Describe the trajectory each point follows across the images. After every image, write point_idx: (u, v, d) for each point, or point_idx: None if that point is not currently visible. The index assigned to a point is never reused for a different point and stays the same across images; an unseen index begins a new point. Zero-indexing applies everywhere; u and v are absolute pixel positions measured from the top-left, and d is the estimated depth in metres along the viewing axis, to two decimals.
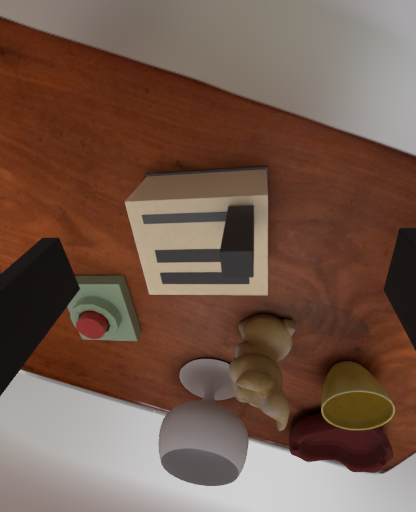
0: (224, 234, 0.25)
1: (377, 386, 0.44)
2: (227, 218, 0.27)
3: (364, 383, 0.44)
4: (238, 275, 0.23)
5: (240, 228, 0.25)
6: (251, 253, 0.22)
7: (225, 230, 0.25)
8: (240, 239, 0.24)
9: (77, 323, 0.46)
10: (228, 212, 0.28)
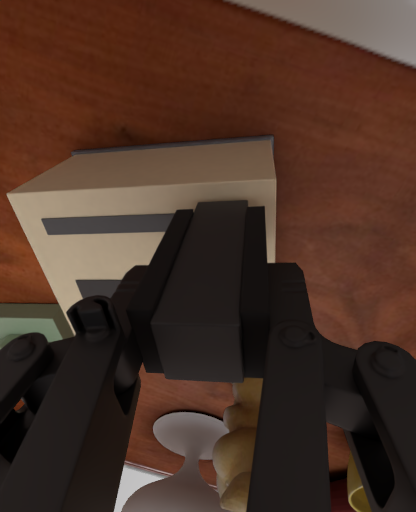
0: (175, 267, 0.10)
1: None
2: (190, 227, 0.13)
3: None
4: (204, 376, 0.09)
5: (214, 251, 0.11)
6: (236, 331, 0.08)
7: (179, 257, 0.11)
8: (209, 283, 0.09)
9: None
10: (195, 214, 0.14)
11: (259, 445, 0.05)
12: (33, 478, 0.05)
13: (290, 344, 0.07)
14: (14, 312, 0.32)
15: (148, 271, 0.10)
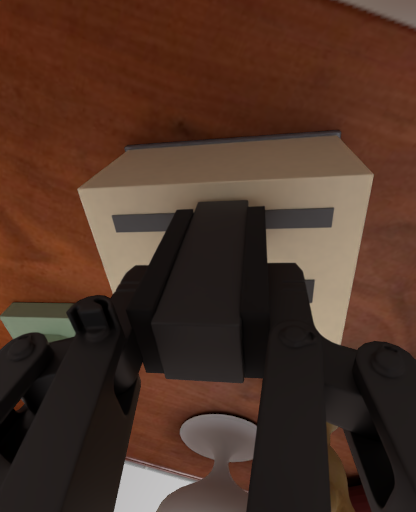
0: (175, 267, 0.10)
1: None
2: (191, 227, 0.13)
3: None
4: (204, 376, 0.09)
5: (214, 251, 0.11)
6: (237, 331, 0.08)
7: (179, 257, 0.11)
8: (210, 283, 0.09)
9: None
10: (195, 214, 0.14)
11: (259, 445, 0.05)
12: (33, 478, 0.05)
13: (290, 345, 0.07)
14: (49, 312, 0.31)
15: (148, 271, 0.10)
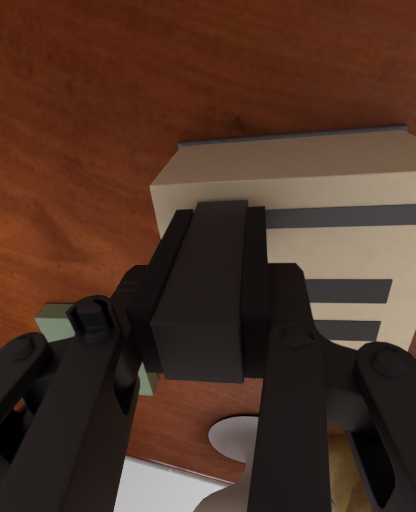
0: (175, 267, 0.10)
1: None
2: (190, 227, 0.13)
3: None
4: (204, 377, 0.09)
5: (214, 252, 0.11)
6: (236, 331, 0.08)
7: (179, 257, 0.11)
8: (209, 283, 0.09)
9: None
10: (195, 214, 0.14)
11: (260, 445, 0.05)
12: (32, 478, 0.05)
13: (291, 345, 0.07)
14: None
15: (148, 271, 0.10)
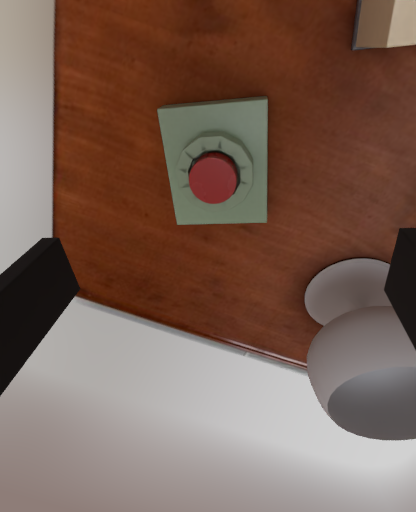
0: None
1: None
2: None
3: None
4: None
5: None
6: None
7: None
8: None
9: (193, 171, 0.28)
10: None
11: None
12: None
13: None
14: (213, 102, 0.28)
15: None
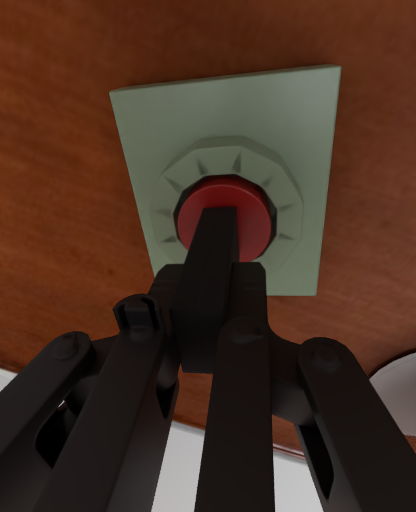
0: None
1: None
2: None
3: None
4: None
5: None
6: None
7: None
8: None
9: (185, 209, 0.14)
10: None
11: (208, 441, 0.05)
12: (77, 479, 0.05)
13: (239, 341, 0.07)
14: (223, 77, 0.14)
15: (185, 269, 0.10)
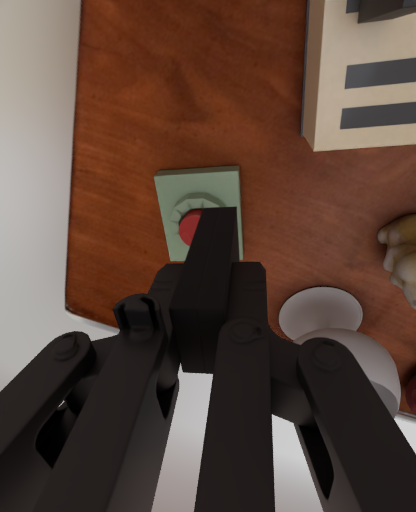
0: None
1: None
2: None
3: None
4: None
5: None
6: None
7: None
8: None
9: (181, 224, 0.36)
10: None
11: (208, 441, 0.05)
12: (77, 479, 0.05)
13: (239, 341, 0.07)
14: (197, 171, 0.36)
15: (185, 270, 0.10)
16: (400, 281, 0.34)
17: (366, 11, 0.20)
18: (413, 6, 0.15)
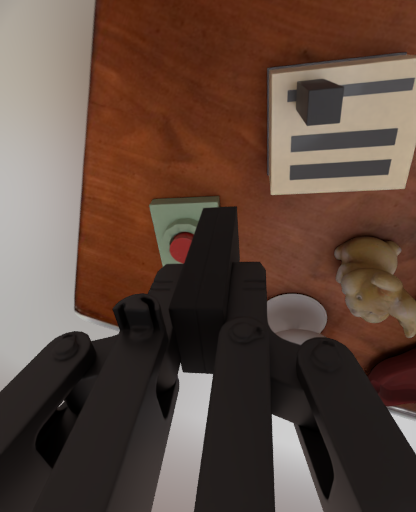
0: (306, 86, 0.24)
1: None
2: (302, 83, 0.26)
3: None
4: (324, 120, 0.23)
5: (320, 84, 0.25)
6: (342, 90, 0.22)
7: (305, 86, 0.25)
8: (325, 85, 0.23)
9: (172, 244, 0.44)
10: (300, 82, 0.27)
11: (208, 441, 0.05)
12: (77, 479, 0.05)
13: (239, 340, 0.07)
14: (184, 201, 0.44)
15: (185, 269, 0.10)
16: None
17: (298, 107, 0.28)
18: (314, 124, 0.23)
